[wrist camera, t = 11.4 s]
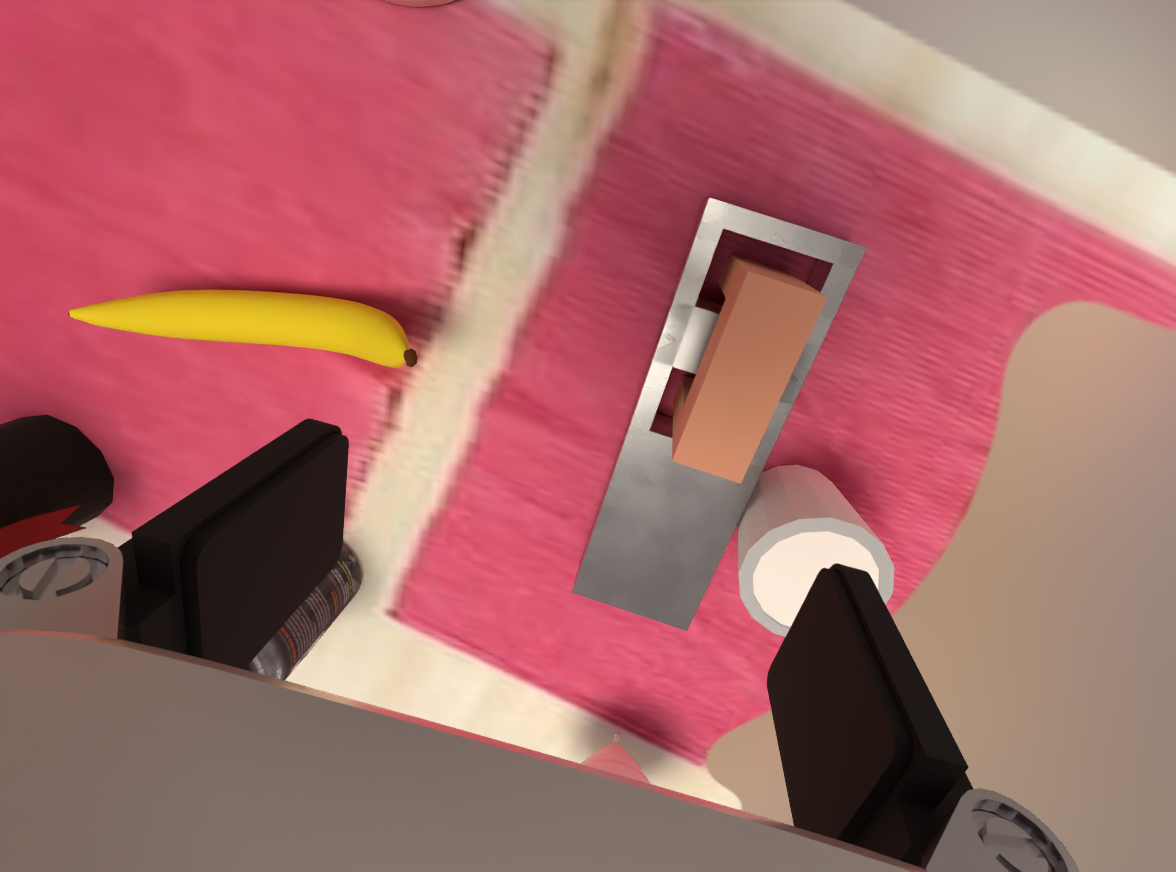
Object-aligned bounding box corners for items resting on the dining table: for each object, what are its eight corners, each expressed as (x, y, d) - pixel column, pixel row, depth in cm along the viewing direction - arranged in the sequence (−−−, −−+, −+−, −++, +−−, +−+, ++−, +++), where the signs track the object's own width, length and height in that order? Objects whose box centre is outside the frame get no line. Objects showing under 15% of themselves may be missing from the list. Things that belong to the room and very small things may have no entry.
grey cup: (718, 552, 34) (728, 633, 28) (735, 447, 32) (750, 509, 25) (837, 567, 34) (875, 653, 27) (865, 460, 31) (914, 528, 25)
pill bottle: (282, 518, 38) (134, 635, 28) (367, 542, 38) (249, 670, 27) (281, 588, 40) (144, 721, 30) (360, 611, 40) (250, 754, 30)
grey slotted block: (706, 198, 27) (709, 197, 24) (847, 243, 27) (866, 247, 24) (580, 562, 36) (571, 592, 33) (686, 598, 36) (687, 630, 33)
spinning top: (693, 738, 40) (699, 940, 29) (622, 788, 43) (602, 988, 32) (611, 675, 39) (584, 859, 28) (543, 730, 42) (494, 916, 31)
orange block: (729, 253, 28) (748, 270, 21) (788, 272, 28) (827, 297, 21) (673, 400, 31) (671, 460, 24) (726, 417, 31) (740, 483, 24)
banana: (144, 273, 33) (29, 288, 27) (462, 303, 31) (412, 327, 25) (155, 323, 34) (47, 348, 28) (463, 356, 32) (416, 390, 26)
